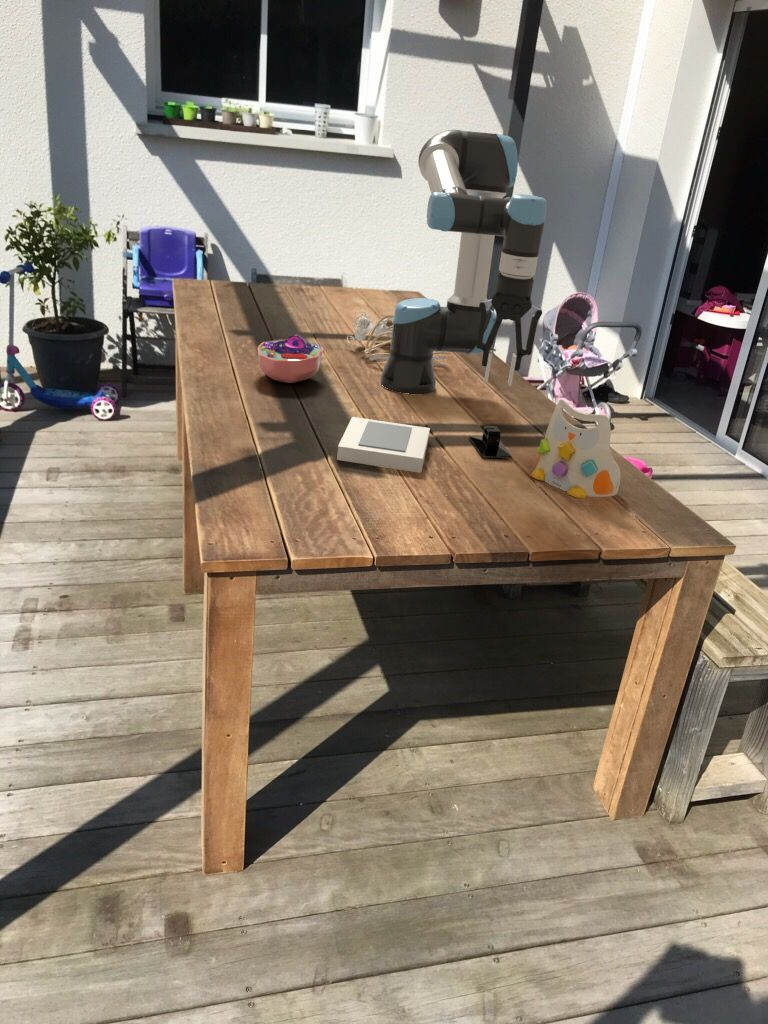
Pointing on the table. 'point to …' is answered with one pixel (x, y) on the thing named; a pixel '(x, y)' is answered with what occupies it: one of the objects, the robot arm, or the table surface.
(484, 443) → the black stand
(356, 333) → the plant holder
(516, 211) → the robot arm
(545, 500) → the table surface
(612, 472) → the shape sorter
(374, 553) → the table surface
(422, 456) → the plinth
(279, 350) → the cell model
